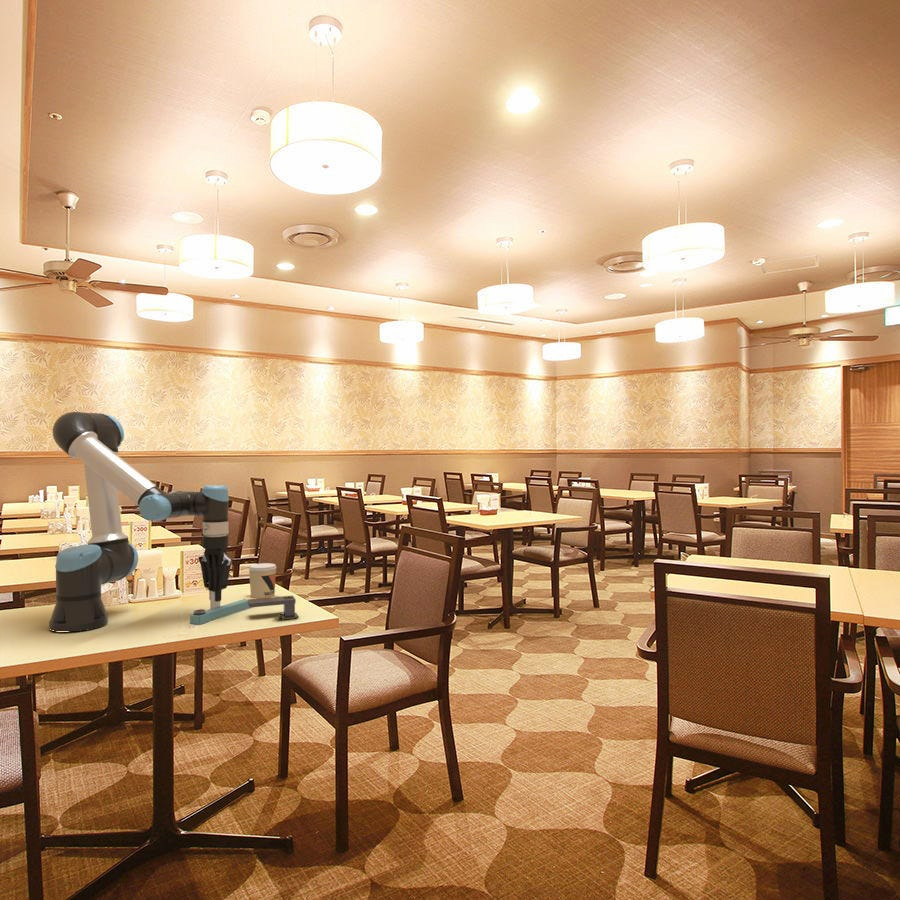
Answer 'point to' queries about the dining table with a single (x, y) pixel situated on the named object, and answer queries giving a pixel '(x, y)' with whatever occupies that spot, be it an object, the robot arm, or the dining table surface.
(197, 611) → the pintle base
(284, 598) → the bracket
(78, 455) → the robot arm
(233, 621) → the dining table surface
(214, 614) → the swing link
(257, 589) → the coffee cup
